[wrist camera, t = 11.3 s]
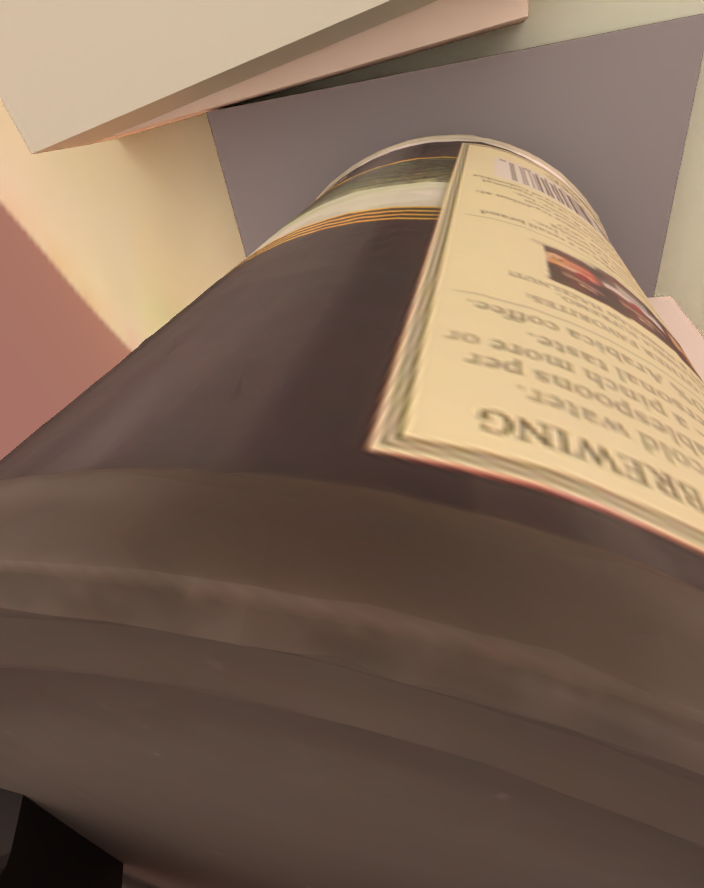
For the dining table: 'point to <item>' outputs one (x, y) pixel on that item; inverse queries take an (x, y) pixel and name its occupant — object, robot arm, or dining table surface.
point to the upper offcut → (152, 55)
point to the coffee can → (375, 559)
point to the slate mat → (491, 129)
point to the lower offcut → (361, 52)
